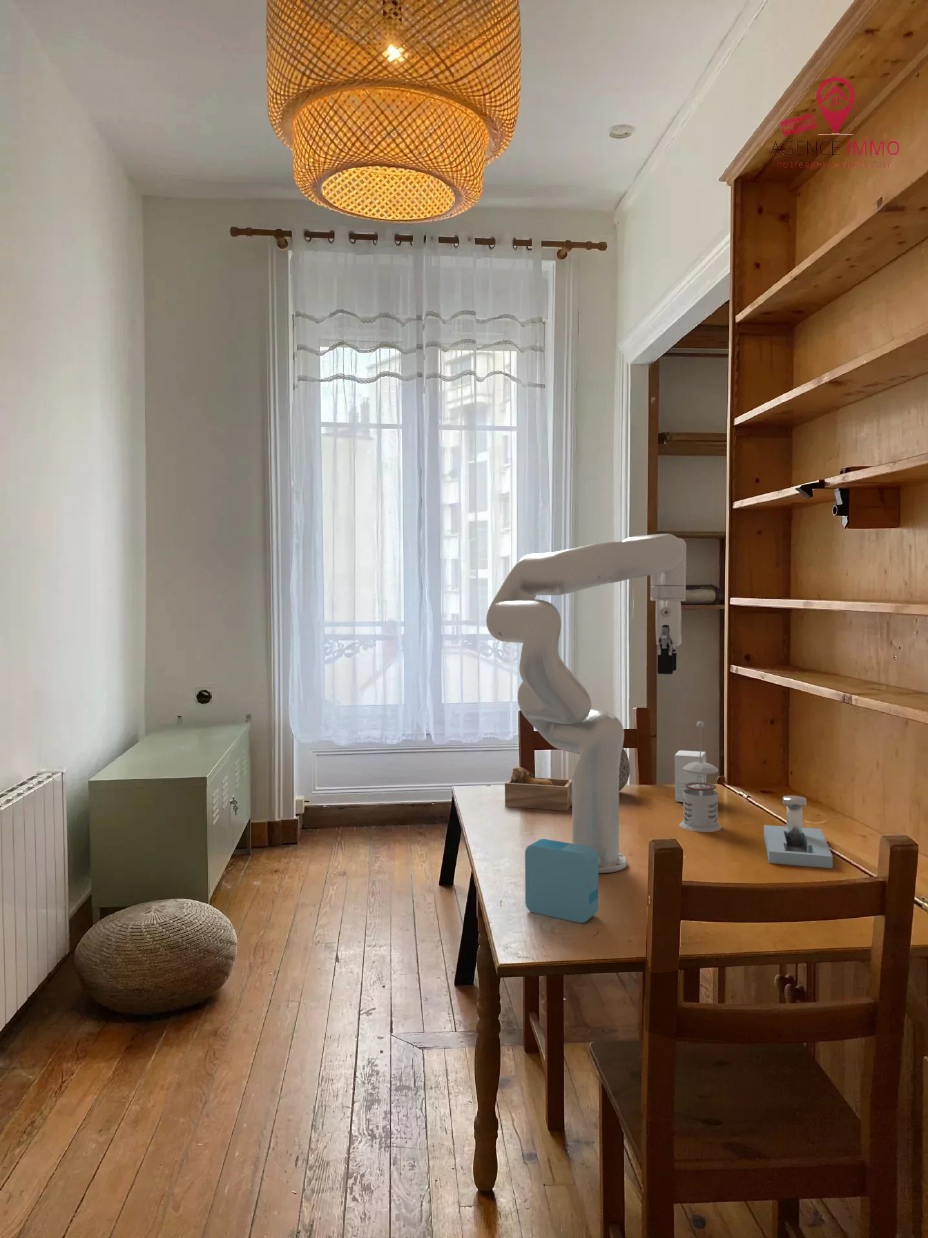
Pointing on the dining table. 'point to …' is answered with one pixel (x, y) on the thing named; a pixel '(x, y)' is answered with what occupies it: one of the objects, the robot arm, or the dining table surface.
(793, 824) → the metal peg
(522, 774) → the lion figurine
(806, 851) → the keyhole board
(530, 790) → the open wooden box
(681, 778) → the supplement box
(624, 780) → the decorative egg
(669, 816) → the dining table surface
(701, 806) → the french press
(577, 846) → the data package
